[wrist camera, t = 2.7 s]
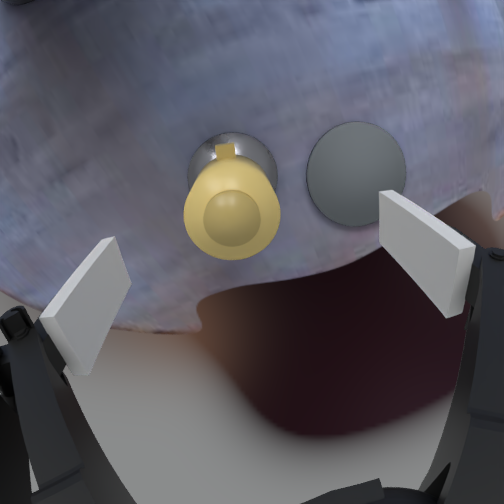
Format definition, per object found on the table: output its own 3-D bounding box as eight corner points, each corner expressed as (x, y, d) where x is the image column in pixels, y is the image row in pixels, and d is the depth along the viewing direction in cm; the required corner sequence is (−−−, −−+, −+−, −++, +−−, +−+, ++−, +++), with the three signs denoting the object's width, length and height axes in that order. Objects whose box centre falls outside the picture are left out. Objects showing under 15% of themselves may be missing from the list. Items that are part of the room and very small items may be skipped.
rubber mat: (309, 229, 39) (311, 232, 38) (301, 124, 33) (303, 124, 32) (401, 218, 39) (404, 220, 38) (402, 121, 33) (405, 122, 32)
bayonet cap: (203, 241, 31) (195, 283, 24) (186, 148, 27) (170, 163, 20) (274, 232, 31) (286, 271, 24) (264, 137, 27) (275, 148, 20)
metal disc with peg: (197, 221, 38) (189, 247, 31) (182, 139, 33) (169, 147, 27) (279, 210, 38) (289, 233, 31) (271, 127, 33) (280, 131, 27)
